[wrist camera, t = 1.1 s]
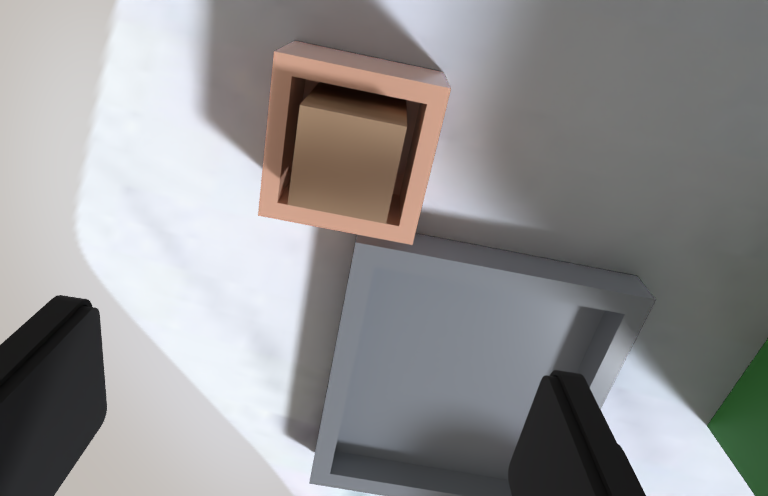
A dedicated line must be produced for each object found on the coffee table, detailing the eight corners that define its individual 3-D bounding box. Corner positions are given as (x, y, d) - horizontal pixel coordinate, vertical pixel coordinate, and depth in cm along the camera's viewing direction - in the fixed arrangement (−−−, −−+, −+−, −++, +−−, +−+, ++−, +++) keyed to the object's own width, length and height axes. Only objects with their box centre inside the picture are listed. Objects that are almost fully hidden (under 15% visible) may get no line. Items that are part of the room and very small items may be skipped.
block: (320, 80, 25) (299, 104, 20) (406, 98, 26) (406, 126, 21) (308, 164, 27) (287, 204, 22) (389, 179, 27) (385, 223, 22)
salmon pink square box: (294, 40, 25) (274, 51, 21) (443, 72, 25) (451, 88, 21) (278, 182, 28) (257, 215, 24) (411, 208, 29) (412, 244, 25)
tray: (359, 222, 29) (355, 242, 27) (636, 276, 30) (656, 299, 28) (314, 453, 37) (309, 483, 35) (535, 489, 38) (543, 521, 36)
